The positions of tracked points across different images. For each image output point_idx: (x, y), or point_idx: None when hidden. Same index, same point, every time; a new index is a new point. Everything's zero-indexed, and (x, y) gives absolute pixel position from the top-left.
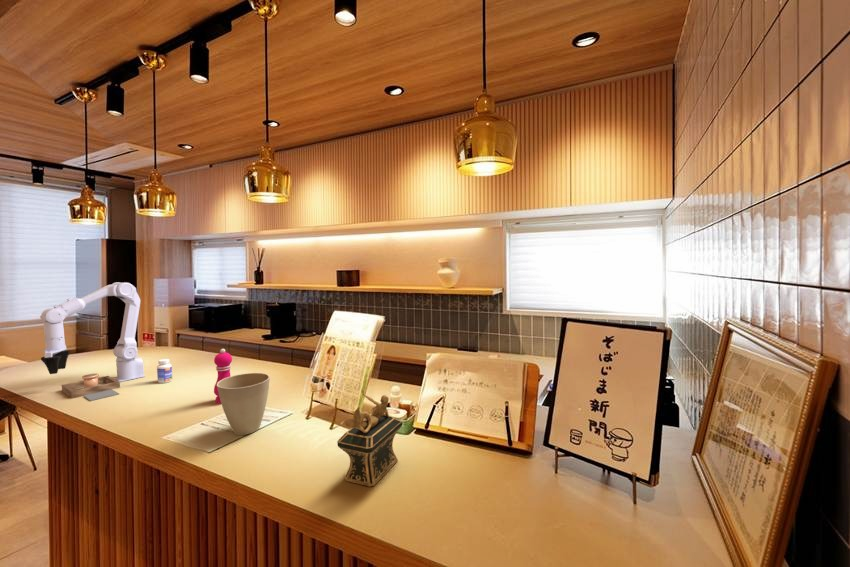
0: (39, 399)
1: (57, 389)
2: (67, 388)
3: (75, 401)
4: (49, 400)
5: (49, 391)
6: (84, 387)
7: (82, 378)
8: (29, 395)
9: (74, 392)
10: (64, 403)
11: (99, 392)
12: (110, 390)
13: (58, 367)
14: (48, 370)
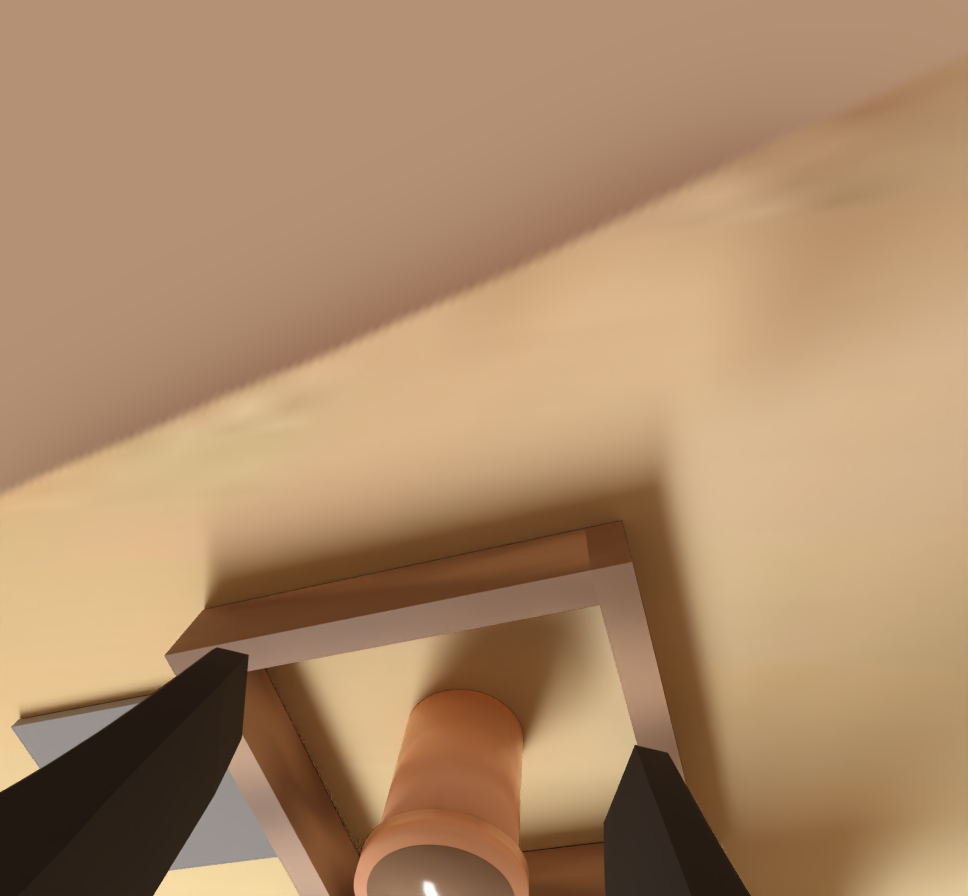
0: (379, 339)
1: (769, 471)
2: (375, 621)
3: (77, 633)
4: (258, 439)
5: (737, 398)
6: (430, 723)
7: (411, 815)
8: (716, 189)
9: (180, 668)
10: (55, 563)
11: (237, 786)
12: (254, 845)
13: (641, 786)
14: (151, 698)
